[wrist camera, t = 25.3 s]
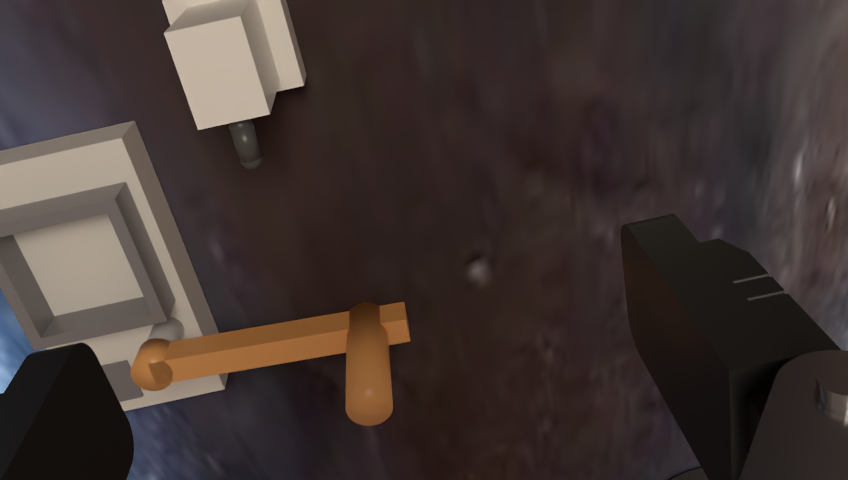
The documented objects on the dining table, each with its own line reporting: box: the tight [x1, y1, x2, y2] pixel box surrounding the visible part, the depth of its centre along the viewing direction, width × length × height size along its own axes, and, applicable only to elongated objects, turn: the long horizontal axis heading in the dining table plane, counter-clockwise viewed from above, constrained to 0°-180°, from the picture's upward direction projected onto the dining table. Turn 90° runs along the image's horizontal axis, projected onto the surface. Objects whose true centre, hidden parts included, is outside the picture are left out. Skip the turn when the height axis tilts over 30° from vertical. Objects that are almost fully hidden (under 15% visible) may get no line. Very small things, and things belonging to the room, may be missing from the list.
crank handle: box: [130, 302, 410, 426], centre depth 36 cm, size 14×2×7 cm, turn 98°
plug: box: [162, 0, 306, 170], centre depth 34 cm, size 7×5×7 cm
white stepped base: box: [0, 121, 228, 411], centre depth 40 cm, size 15×8×4 cm, turn 11°
